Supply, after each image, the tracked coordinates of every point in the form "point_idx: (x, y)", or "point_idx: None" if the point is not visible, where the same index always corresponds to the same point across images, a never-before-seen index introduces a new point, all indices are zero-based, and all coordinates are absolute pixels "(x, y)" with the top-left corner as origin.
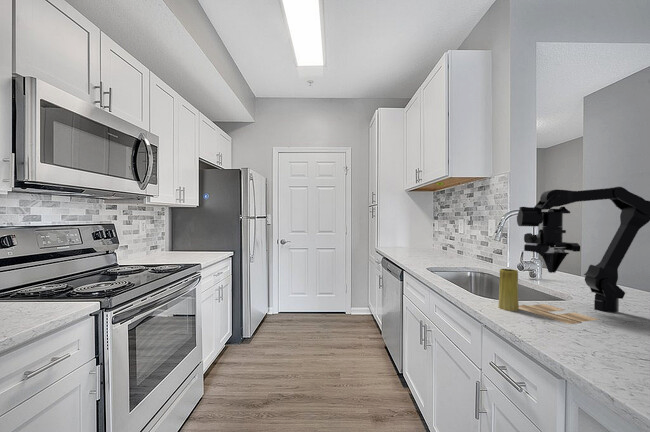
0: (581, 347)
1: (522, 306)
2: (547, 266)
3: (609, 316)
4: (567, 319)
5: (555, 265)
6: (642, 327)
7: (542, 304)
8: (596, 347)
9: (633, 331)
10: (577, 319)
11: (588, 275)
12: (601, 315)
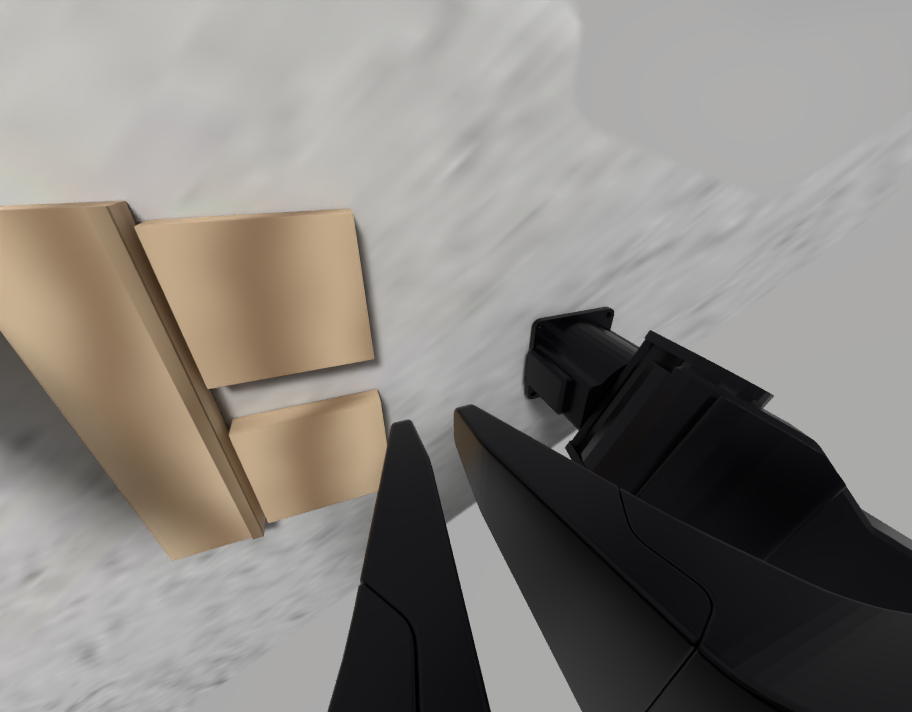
0: (74, 676)
1: (66, 245)
2: (381, 512)
3: None
4: (227, 505)
5: (510, 542)
6: None
7: (329, 220)
8: (142, 659)
9: None
10: (287, 496)
11: (680, 454)
12: None
